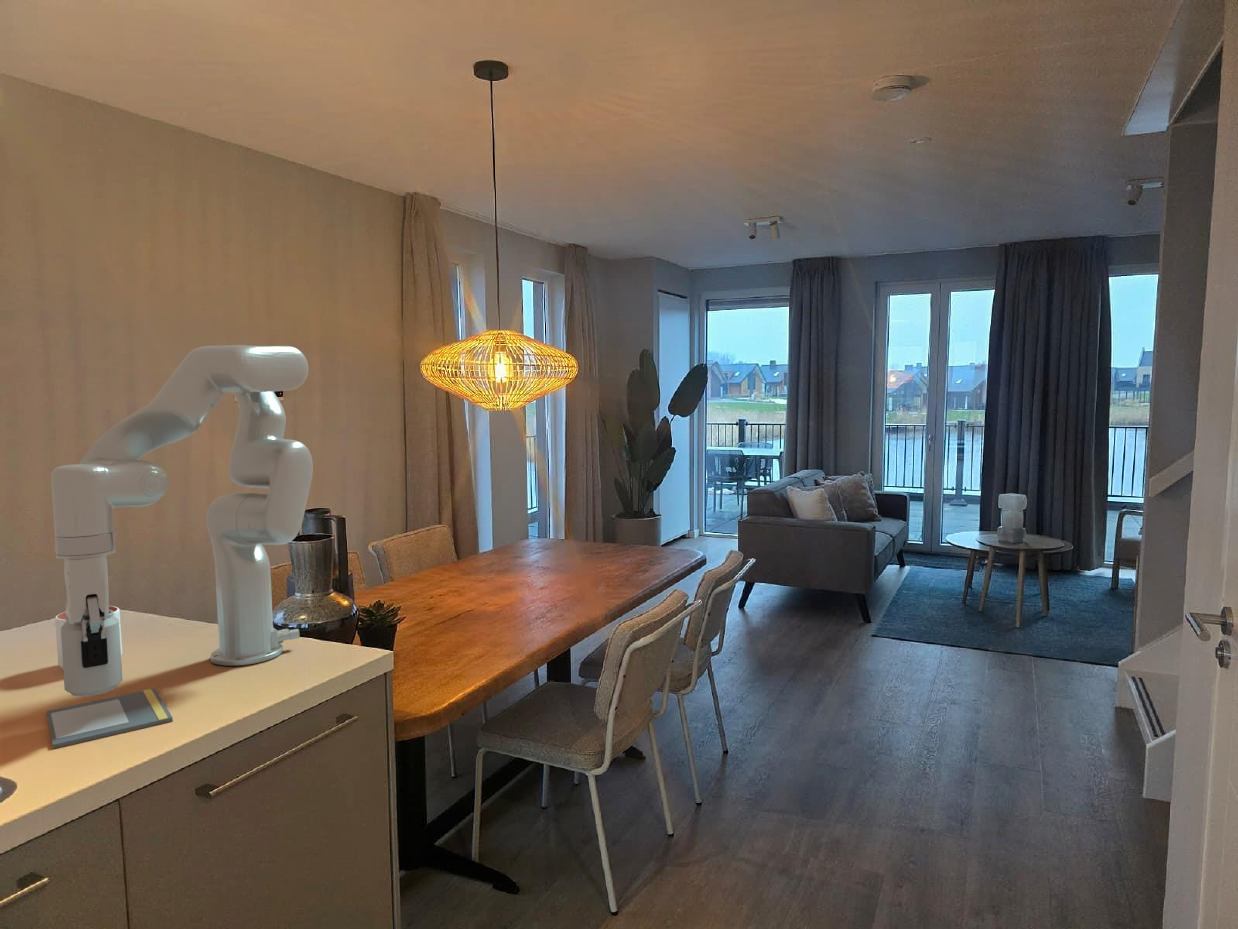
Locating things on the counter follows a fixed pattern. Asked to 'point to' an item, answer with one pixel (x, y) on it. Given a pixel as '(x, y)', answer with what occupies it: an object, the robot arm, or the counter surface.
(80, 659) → the can
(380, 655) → the counter surface
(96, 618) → the robot arm
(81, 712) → the mat
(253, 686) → the counter surface
